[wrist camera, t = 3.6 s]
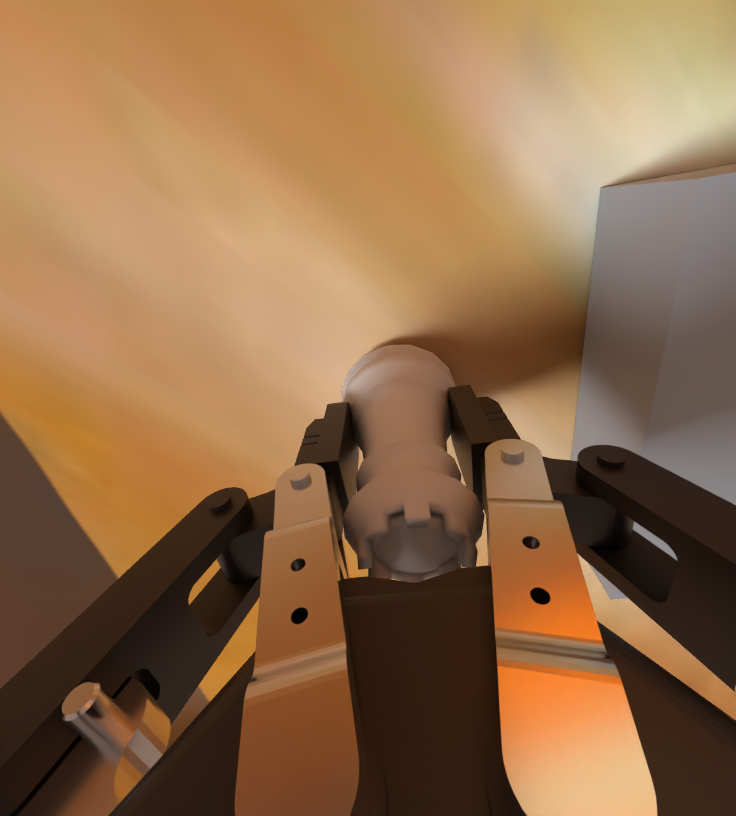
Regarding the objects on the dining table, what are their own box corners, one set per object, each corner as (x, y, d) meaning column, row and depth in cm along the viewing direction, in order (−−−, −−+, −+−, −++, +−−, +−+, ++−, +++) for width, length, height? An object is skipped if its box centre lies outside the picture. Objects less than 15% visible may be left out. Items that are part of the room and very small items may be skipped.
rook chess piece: (475, 405, 15) (561, 578, 8) (384, 457, 16) (390, 647, 9) (414, 315, 13) (456, 434, 6) (319, 382, 15) (265, 542, 8)
